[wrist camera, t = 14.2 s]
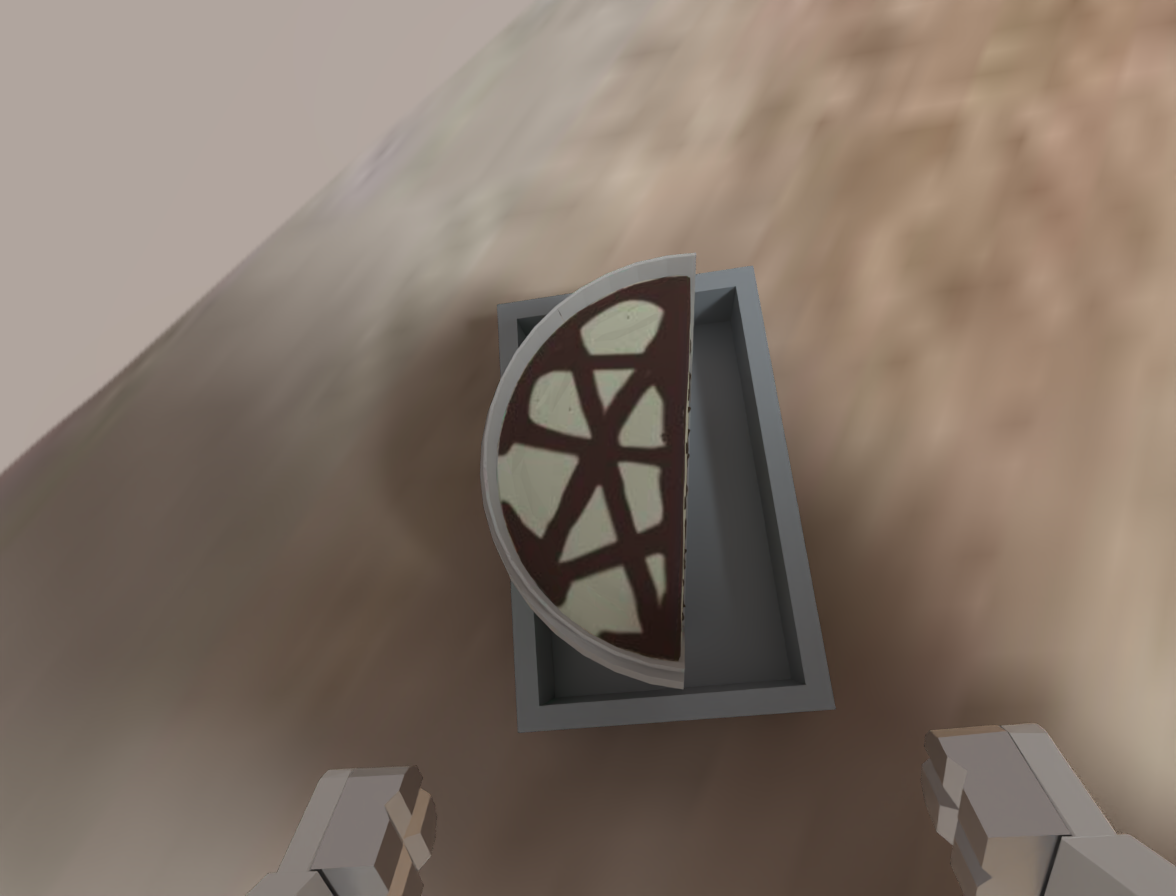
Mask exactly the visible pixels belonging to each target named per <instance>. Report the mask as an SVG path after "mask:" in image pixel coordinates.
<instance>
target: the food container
mask: <svg viewBox="0 0 1176 896" xmlns="http://www.w3.org/2000/svg"><path fill="white" fill-rule="evenodd" d="M695 271H696V253H688V254H678V255H667V256H663V257H658V258H654V259H649V260H645V261H641V262H636V263H634V264H631V265H628V266H626V267H623V268H620V269H618V270H615V271H612V272H610V273H607V274H605V275H603V276H602V277H600V278H598V279H596V280H594V281H592V282H590V283H589V284H587V285H585V286H583V287H581V288H580V289H578V290H577V291H576V292H574V293H573V294H572V295H570V296H569V297H567V298H566V299H565V300H563V301H562V302H561V303H559V304H558V305H557V306H555V307H554V308H553V309H552V310H551V311H550V312H549V313H548V314H547V315H546V316H545V317H544V318H543V319H542V320H541V321H540V322H539V323H538V324H537V325H536V326H535V327H534V328H533V329H532V331H531V332H530V333H529V335H528V336H527V337H526V339H525V340H524V341H523V343H522V344H521V345H520V347H519V348H518V349H517V351H516V352H515V354H514V356H513V357H512V359H511V361H510V363H509V365H508V367H507V368H506V370H505V372H504V374H503V376H502V377H501V380H500V382H499V384H498V386H497V389H496V392H495V394H494V397H493V400H492V402H491V405H490V408H489V411H488V414H487V418H486V423H485V428H484V433H483V438H482V443H481V463H480V480H481V489H482V498H483V506H484V510H485V514H486V518H487V521H488V525H489V528H490V532H491V535H492V539H493V541H494V544H495V546H496V549H497V551H498V553H499V555H500V557H501V559H502V562H503V564H504V566H505V568H506V570H507V572H508V574H509V576H510V578H511V581H512V582H513V583H514V585H515V586H516V588H517V589H518V591H519V592H520V594H521V595H522V597H523V598H524V599H525V601H526V602H527V604H528V605H529V607H530V608H531V609H532V610H533V611H534V612H535V613H536V614H537V616H538V617H539V618H540V619H541V620H542V621H543V622H544V623H545V624H546V625H547V626H548V627H549V628H550V629H551V630H552V631H553V632H554V633H555V634H556V635H557V636H559V637H560V638H561V639H563V640H564V641H565V642H567V643H568V644H569V645H571V646H572V647H573V648H574V649H576V650H577V651H578V652H580V653H581V654H582V655H584V656H586V657H588V658H590V659H592V660H594V661H595V662H597V663H599V664H601V665H603V666H605V667H607V668H609V669H610V670H612V671H614V672H617V673H620V674H623V675H626V676H629V677H631V678H634V679H637V680H640V681H643V682H646V683H649V684H654V685H660V686H666V687H672V688H678V689H683V690H684V670H685V607H686V606H685V594H686V559H687V524H688V488H689V457H690V454H689V453H690V417H691V387H692V358H693V329H694V300H695Z"/></svg>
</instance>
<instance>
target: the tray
mask: <svg viewBox="0 0 1176 896" xmlns="http://www.w3.org/2000/svg"><path fill="white" fill-rule="evenodd" d="M572 294H573V293H571V294H564V295H557V296H551V297H544V298H538V299H531V300H525V301H518V302H512V303H505V304H498V305H497V313H498V334H499V354H500V375H501V377H502V376H503V374H504V372H505V370H506V368H507V367H508V365H509V363H510V361H511V359H512V357H513V356H514V354H515V352H516V351H517V349H518V348H519V347H520V345H521V344H522V343H523V341H524V340H525V339H526V337H527V336H528V335H529V333H530V332H531V331H532V329H533V328H534V327H535V326H536V325H537V324H538V323H539V322H540V321H541V320H542V319H543V318H544V317H545V316H546V315H547V314H548V313H549V312H550V311H551V310H552V309H553V308H554V307H555V306H557V305H558V304H559V303H561V302H562V301H563V300H565V299H566V298H567V297H569V296H570V295H572ZM689 454H690V457H689V488H688V524H687V559H686V594H685V606H686V607H685V670H684V690H683V689H678V688H672V687H666V686H660V685H654V684H649V683H646V682H643V681H640V680H637V679H634V678H631V677H629V676H626V675H623V674H620V673H617V672H614V671H612V670H610V669H609V668H607V667H605V666H603V665H601V664H599V663H597V662H595V661H594V660H592V659H590V658H588V657H586V656H584V655H582V654H581V653H580V652H578V651H577V650H576V649H574V648H573V647H572V646H571V645H569V644H568V643H567V642H565V641H564V640H563V639H561V638H560V637H559V636H557V635H556V634H555V633H554V632H553V631H552V630H551V629H550V628H549V627H548V626H547V625H546V624H545V623H544V622H543V621H542V620H541V619H540V618H539V617H538V616H537V614H536V613H535V612H534V611H533V610H532V609H531V608H530V607H529V605H528V604H527V602H526V601H525V599H524V598H523V597H522V595H521V594H520V592H519V591H518V589H517V588H516V586H515V585H514V583H513V582H512V581H511V578H510V581H511V602H512V622H513V643H514V663H515V684H516V704H517V725H518V733H522V732H536V731H549V730H563V729H576V728H590V727H603V726H617V725H630V724H644V723H657V722H671V721H684V720H698V719H711V718H725V717H738V716H752V715H765V714H779V713H792V712H806V711H819V710H833V709H836V708H835V702H834V697H833V692H832V686H831V681H830V676H829V670H828V665H827V660H826V654H825V649H824V643H823V638H822V633H821V627H820V622H819V617H818V611H817V606H816V601H815V595H814V590H813V585H812V579H811V574H810V568H809V563H808V558H807V552H806V547H805V542H804V536H803V531H802V526H801V520H800V515H799V510H798V504H797V499H796V493H795V488H794V483H793V477H792V472H791V467H790V461H789V456H788V451H787V445H786V440H785V435H784V429H783V424H782V418H781V413H780V408H779V402H778V397H777V392H776V386H775V381H774V376H773V370H772V365H771V359H770V354H769V349H768V343H767V338H766V333H765V327H764V322H763V317H762V311H761V306H760V301H759V295H758V290H757V284H756V279H755V274H754V268H753V266H747V267H741V268H734V269H728V270H721V271H715V272H708V273H701V274H695V300H694V329H693V358H692V387H691V417H690V453H689Z"/></svg>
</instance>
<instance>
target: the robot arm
mask: <svg viewBox="0 0 1176 896" xmlns="http://www.w3.org/2000/svg"><path fill="white" fill-rule="evenodd" d="M924 747H925V749H926V751H927V753H928V755H929V759H928V760H927V761H926V762H924V763H923V764H922V769H921V784H922V790H923V796H924V800H925V803H926V806H927V809H928V812H929V815H930V818H931V820H932V822H933V825H934V827H935V830H936V832H937V833H939V834H940V835H941V836H942V837H943V838H944V839H946V840H947V841H948V842H949V843H950V844H952V845H953V848H952V854H951V861H950V864H951V867H952V869H953V871H954V873H955V876H956V878H957V880H958V882H959V885H960V887H961V889H962V891H963V894H964V896H1176V866H1175V865H1174V864H1172V863H1171V862H1169V861H1168V860H1166V859H1165V858H1163V857H1162V856H1160V855H1159V854H1158V853H1156V852H1155V851H1153V850H1152V849H1150V848H1149V847H1147V846H1146V845H1145V844H1143V843H1142V842H1140V841H1139V840H1137V839H1136V838H1134V837H1133V836H1131V835H1130V834H1117V833H1116V832H1115V830H1114V829H1113V827H1112V826H1111V824H1110V823H1109V821H1108V820H1107V819H1106V817H1105V816H1104V814H1103V813H1102V811H1101V810H1100V808H1099V807H1098V805H1097V804H1096V803H1095V801H1094V800H1093V798H1092V797H1091V795H1090V794H1089V792H1088V791H1087V790H1086V788H1085V787H1084V785H1083V784H1082V782H1081V781H1080V779H1079V778H1078V776H1077V775H1076V774H1075V772H1074V771H1073V769H1072V768H1071V766H1070V765H1069V763H1068V762H1067V761H1066V759H1065V758H1064V756H1063V755H1062V753H1061V752H1060V750H1059V749H1058V747H1057V746H1056V745H1055V743H1054V742H1053V740H1052V739H1051V737H1050V736H1049V734H1048V733H1047V732H1046V730H1045V729H1044V728H1042V727H1041V726H1040V725H1038V724H1036V723H1025V724H1014V725H1003V726H997V725H986V726H974V727H962V728H950V729H938V730H929V731H928V732H927V734H926V735H925V742H924ZM422 780H423V777H422V775H421V773H420V771H419V769H418V767H417V765H413V766H393V767H373V768H349V769H334V770H328V771H327V772H326V773H325V774H324V775H323V776H322V777H321V779H320V780H319V782H318V784H317V786H316V788H315V790H314V792H313V795H312V797H311V799H310V801H309V803H308V806H307V808H306V810H305V812H304V814H303V816H302V819H301V821H300V823H299V825H298V827H297V830H296V832H295V834H294V836H293V838H292V840H291V843H290V845H289V847H288V849H287V851H286V854H285V856H284V858H283V860H282V862H281V864H280V867H279V869H278V871H277V872H275V873H268V874H267V875H266V876H265V877H264V878H263V879H262V880H261V881H260V882H259V883H258V884H257V885H256V886H255V887H254V888H253V889H252V890H251V891H249V892H248V893H247V894H246V895H245V896H421V893H422V890H423V886H424V885H423V882H422V880H421V877H420V874H419V869H420V868H421V867H422V866H423V865H424V864H425V862H426V861H427V860H428V859H429V858H430V857H431V855H432V850H433V846H434V842H435V838H436V825H437V814H436V808H435V803H434V801H433V798H432V796H431V794H429V793H428V792H426V791H425V790H423V789H421V788H420V786H421V783H422Z"/></svg>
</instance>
